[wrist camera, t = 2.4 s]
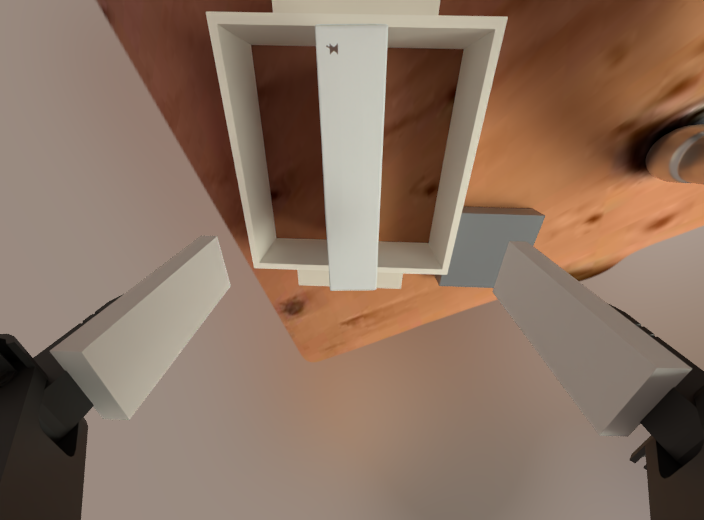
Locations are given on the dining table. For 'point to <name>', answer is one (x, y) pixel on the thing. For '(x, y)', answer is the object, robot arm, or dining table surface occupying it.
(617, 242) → the dining table surface
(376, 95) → the skincare box
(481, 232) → the plate
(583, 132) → the dining table surface
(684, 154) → the plastic bottle
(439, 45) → the tray
